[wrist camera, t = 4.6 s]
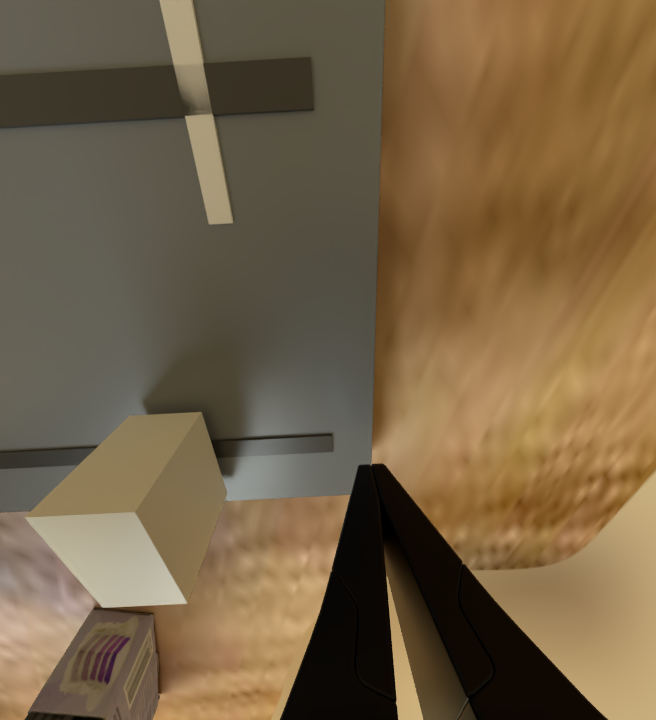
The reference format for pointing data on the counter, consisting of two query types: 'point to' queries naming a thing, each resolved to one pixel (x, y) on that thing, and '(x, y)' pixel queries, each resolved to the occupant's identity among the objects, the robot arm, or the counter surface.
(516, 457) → the counter surface
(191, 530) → the cream slider
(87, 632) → the striped narrow carton
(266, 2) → the panel
